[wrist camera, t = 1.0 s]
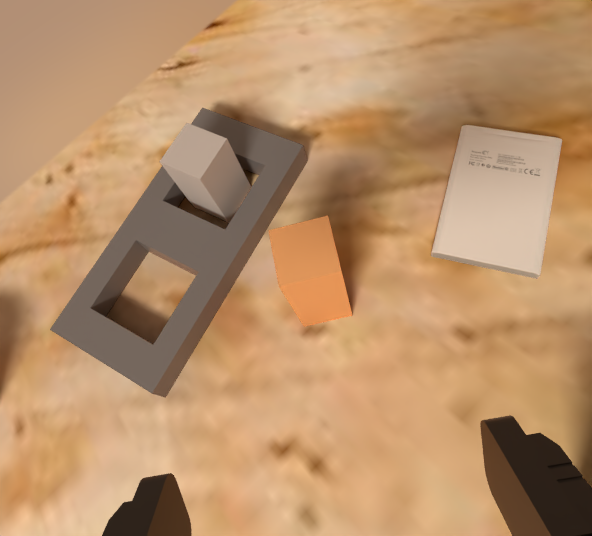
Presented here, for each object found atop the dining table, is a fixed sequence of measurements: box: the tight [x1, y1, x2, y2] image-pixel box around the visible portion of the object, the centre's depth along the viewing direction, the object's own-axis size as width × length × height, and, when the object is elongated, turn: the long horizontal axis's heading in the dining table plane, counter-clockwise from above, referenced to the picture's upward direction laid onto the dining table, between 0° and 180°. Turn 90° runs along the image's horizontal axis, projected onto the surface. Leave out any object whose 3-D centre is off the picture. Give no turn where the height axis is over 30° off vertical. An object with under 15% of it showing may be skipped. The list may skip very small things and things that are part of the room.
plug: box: [269, 216, 352, 327], centre depth 36 cm, size 4×4×10 cm
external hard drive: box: [431, 125, 562, 279], centre depth 41 cm, size 2×8×12 cm
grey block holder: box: [50, 108, 307, 397], centre depth 41 cm, size 24×11×8 cm, turn 151°
